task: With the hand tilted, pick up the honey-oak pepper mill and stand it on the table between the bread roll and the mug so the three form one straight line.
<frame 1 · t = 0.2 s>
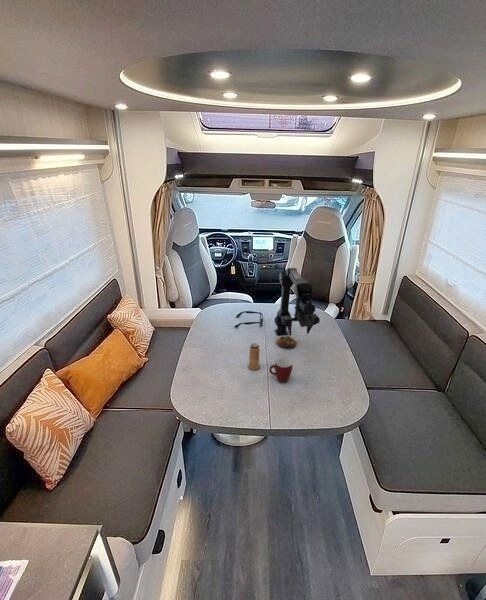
hand: (298, 334, 159), 15 cm above the table, tool pointing down, fingers open, 9 cm apart
pepper mill: (254, 367, 157), on the table
bread roll: (286, 344, 178), on the table
mug: (279, 380, 148), on the table
glasses: (249, 322, 201), on the table
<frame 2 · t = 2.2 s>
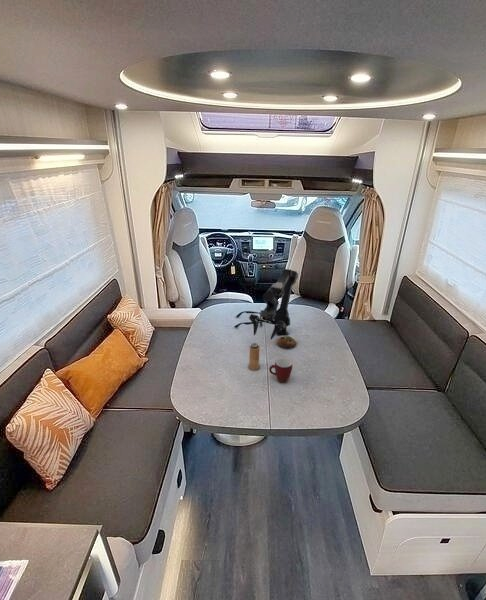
hand: (262, 337, 158), 13 cm above the table, tool tilted 45°, fingers open, 9 cm apart
nothing on the table moved.
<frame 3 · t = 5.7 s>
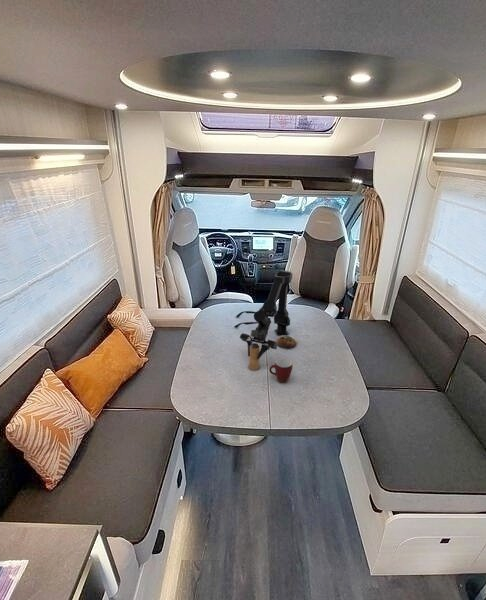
hand: (253, 357, 153), 7 cm above the table, tool tilted 45°, fingers closed on pepper mill, 5 cm apart
pepper mill: (254, 367, 157), on the table, touching gripper
everything else where it was.
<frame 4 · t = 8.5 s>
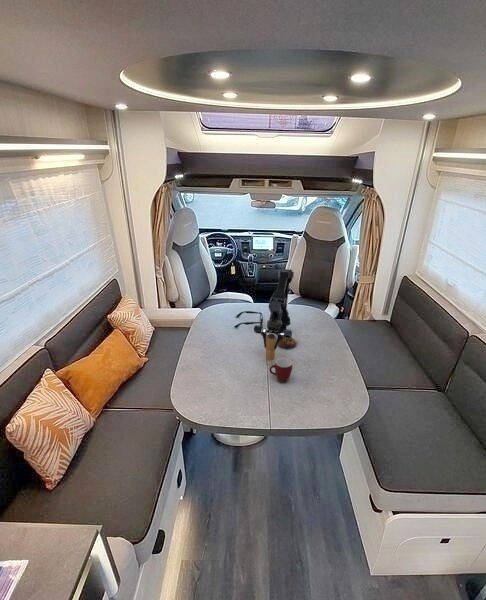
hand: (270, 348, 152), 11 cm above the table, tool tilted 45°, fingers closed on pepper mill, 5 cm apart
pepper mill: (270, 358, 156), point 5 cm above the table, touching gripper
everything else where it was.
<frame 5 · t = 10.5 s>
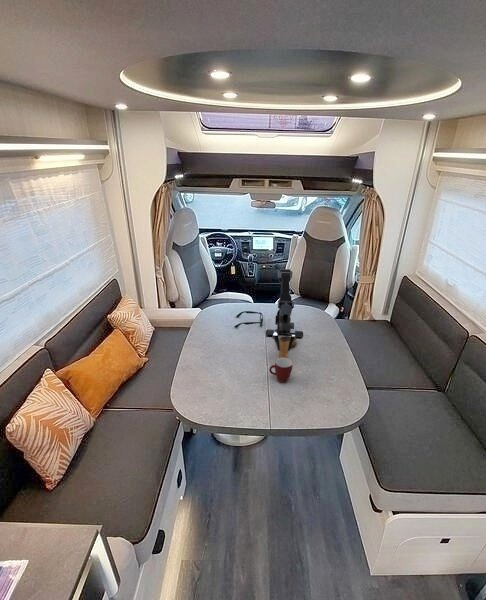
hand: (283, 350, 155), 9 cm above the table, tool tilted 45°, fingers closed on pepper mill, 5 cm apart
pepper mill: (282, 360, 159), point 2 cm above the table, touching gripper
everything else where it was.
when the fingers open (7 cm above the table, at t = 11.6 s): pepper mill stays where it is, on the table.
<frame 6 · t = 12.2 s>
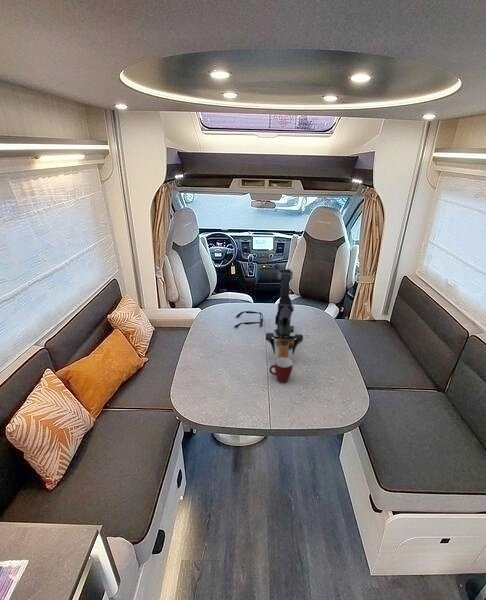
hand: (283, 354, 156), 7 cm above the table, tool tilted 45°, fingers open, 9 cm apart
pepper mill: (282, 364, 160), on the table
everything else where it was.
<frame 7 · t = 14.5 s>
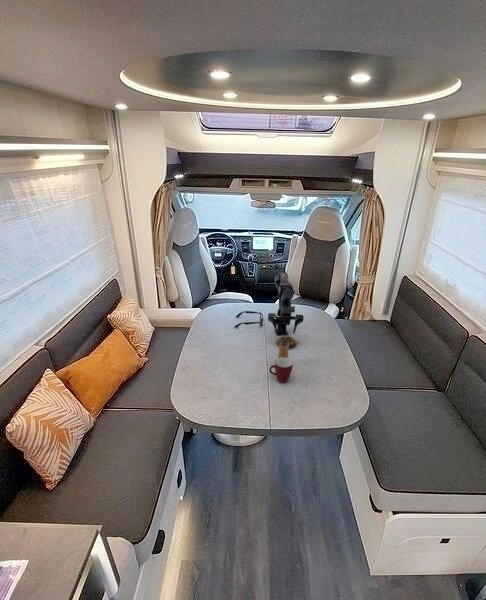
hand: (284, 333, 163), 13 cm above the table, tool tilted 45°, fingers open, 9 cm apart
nothing on the table moved.
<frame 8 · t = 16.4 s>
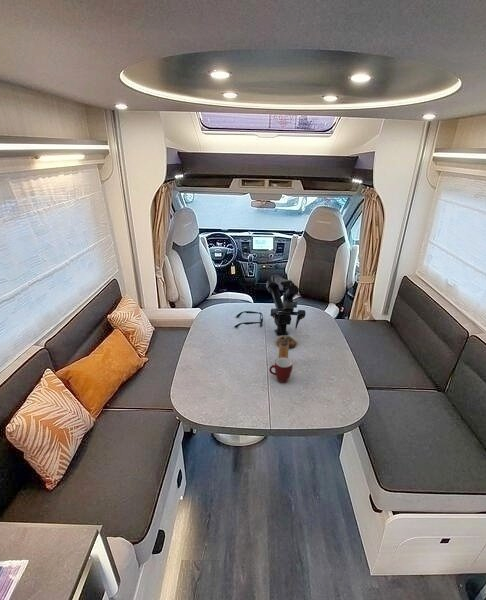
hand: (287, 328, 167), 14 cm above the table, tool tilted 45°, fingers open, 9 cm apart
nothing on the table moved.
at the end: pepper mill 0.0 cm from the target spot on the table beside the bread roll, on the table; pepper mill 13.0 cm from the mug (horizontally); pepper mill tilted 0° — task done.
